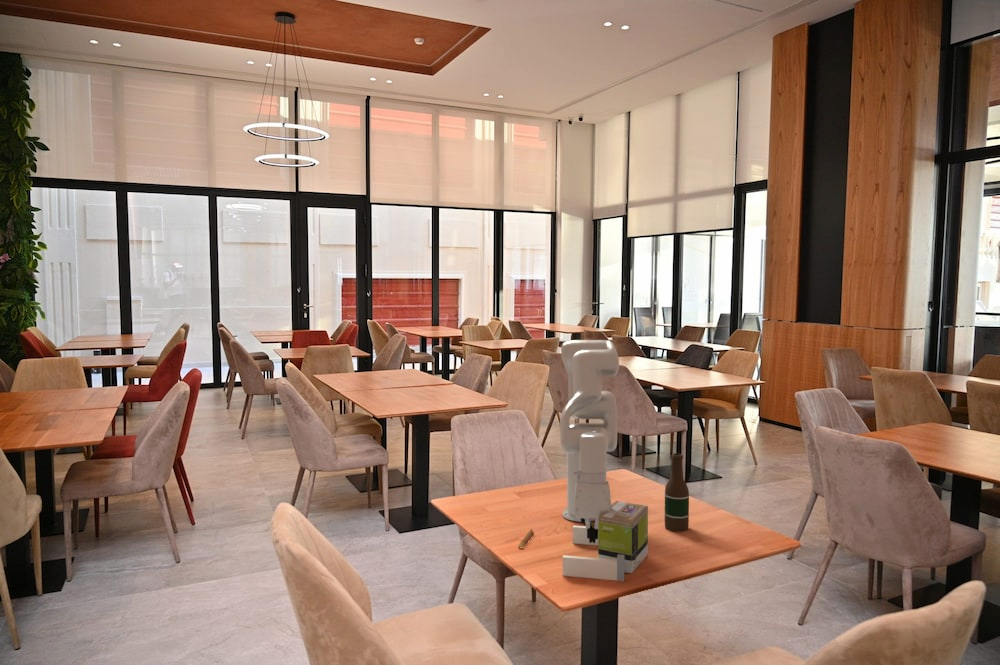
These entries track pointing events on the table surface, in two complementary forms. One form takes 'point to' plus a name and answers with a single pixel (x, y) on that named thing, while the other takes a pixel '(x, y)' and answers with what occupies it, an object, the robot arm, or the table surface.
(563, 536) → the table surface
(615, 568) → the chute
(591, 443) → the robot arm
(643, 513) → the tea box
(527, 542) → the chocolate bar
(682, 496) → the beer bottle
